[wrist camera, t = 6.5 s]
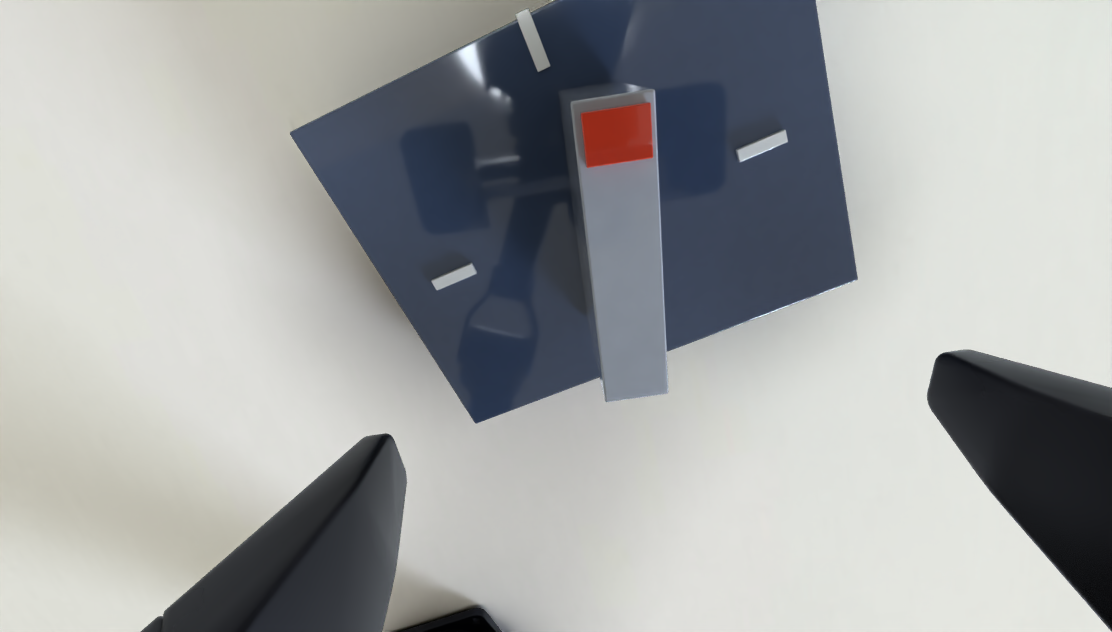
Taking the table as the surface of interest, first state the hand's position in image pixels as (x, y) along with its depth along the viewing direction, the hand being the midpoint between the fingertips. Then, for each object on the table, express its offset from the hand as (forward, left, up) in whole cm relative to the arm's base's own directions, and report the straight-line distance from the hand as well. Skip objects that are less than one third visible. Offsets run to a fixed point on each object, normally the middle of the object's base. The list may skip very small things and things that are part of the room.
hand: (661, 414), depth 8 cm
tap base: (0, +1, -11) cm, 11 cm away
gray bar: (0, +1, -8) cm, 8 cm away
